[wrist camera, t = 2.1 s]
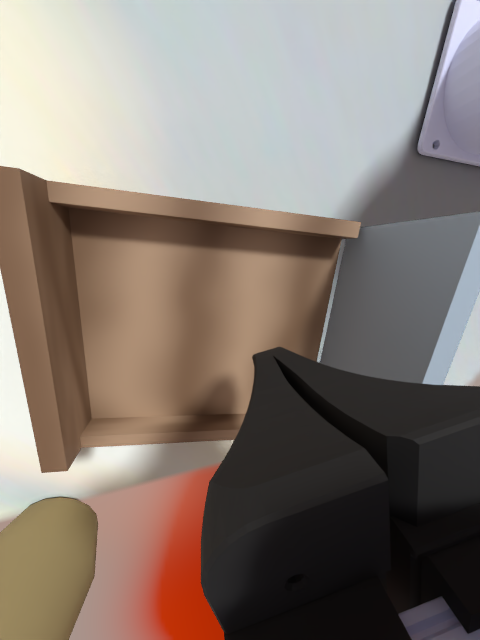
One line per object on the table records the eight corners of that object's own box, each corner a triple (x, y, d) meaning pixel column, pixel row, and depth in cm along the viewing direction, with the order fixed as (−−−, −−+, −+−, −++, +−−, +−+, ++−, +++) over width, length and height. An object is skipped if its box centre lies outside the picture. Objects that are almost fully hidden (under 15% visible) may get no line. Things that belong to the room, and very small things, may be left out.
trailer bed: (326, 227, 15) (382, 218, 11) (294, 403, 19) (324, 453, 15) (62, 195, 13) (-21, 163, 8) (87, 408, 17) (41, 472, 12)
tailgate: (368, 231, 14) (519, 216, 7) (325, 417, 18) (397, 516, 11) (348, 229, 14) (484, 210, 7) (308, 417, 18) (372, 520, 11)
